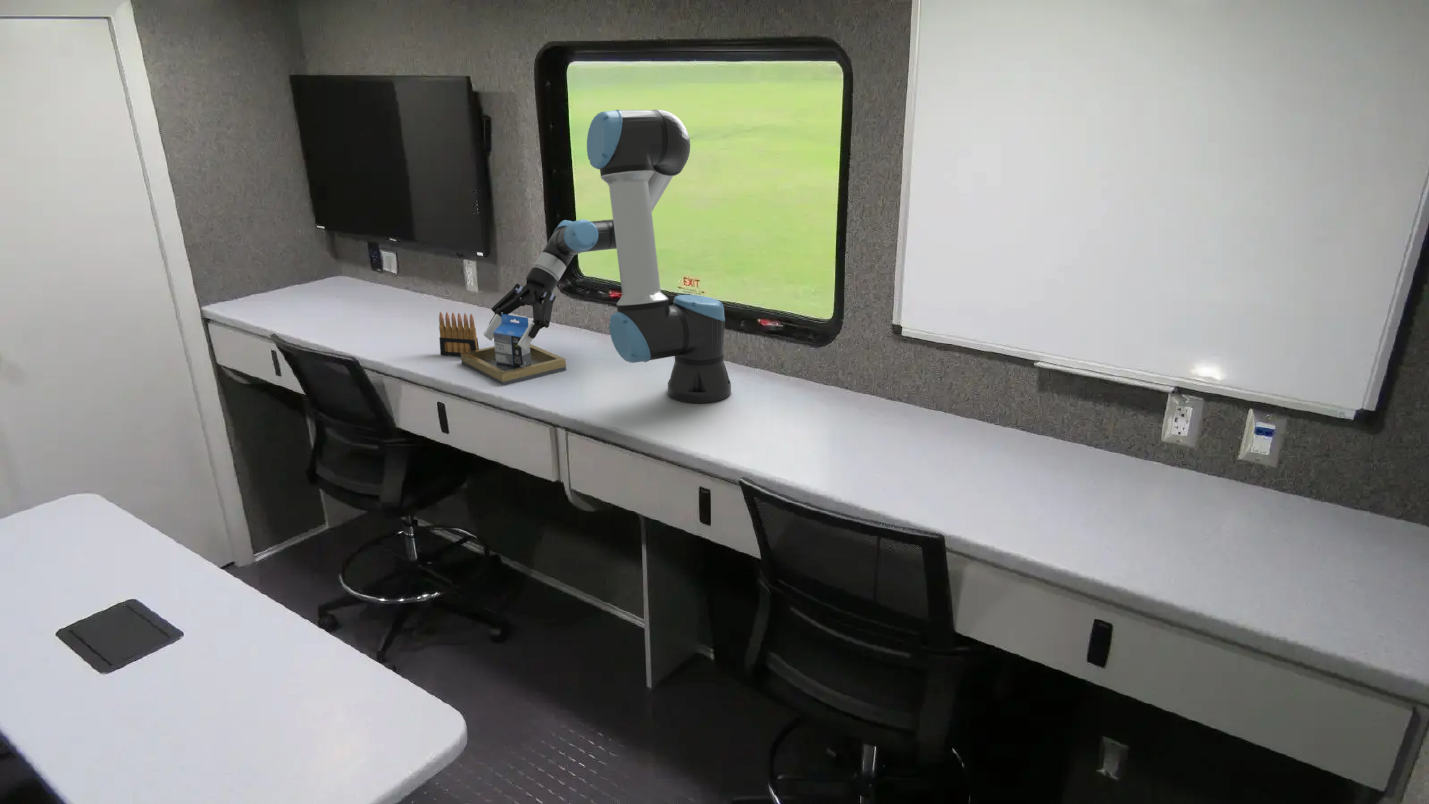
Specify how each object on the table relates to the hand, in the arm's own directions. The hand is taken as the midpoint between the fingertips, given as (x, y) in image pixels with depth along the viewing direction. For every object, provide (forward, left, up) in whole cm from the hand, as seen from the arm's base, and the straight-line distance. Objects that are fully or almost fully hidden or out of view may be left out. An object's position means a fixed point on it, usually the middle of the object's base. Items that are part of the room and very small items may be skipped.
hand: (504, 342), depth 217 cm
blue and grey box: (0, -2, -6) cm, 7 cm away
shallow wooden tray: (0, -2, -7) cm, 8 cm away
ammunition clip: (+18, +4, -7) cm, 20 cm away
